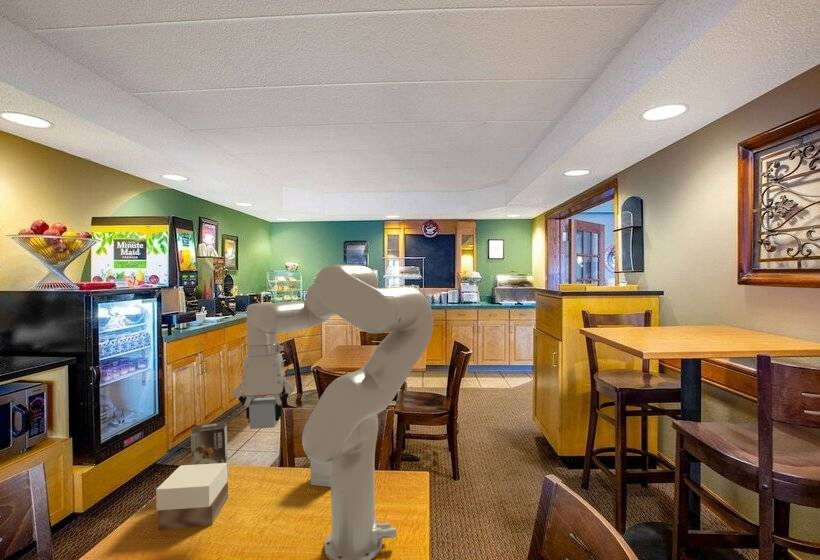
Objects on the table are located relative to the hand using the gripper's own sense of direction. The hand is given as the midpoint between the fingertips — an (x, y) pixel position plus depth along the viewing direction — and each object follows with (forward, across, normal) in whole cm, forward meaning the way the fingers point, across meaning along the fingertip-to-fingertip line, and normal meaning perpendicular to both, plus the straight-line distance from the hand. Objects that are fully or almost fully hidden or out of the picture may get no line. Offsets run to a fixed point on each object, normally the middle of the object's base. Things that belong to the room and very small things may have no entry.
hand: (264, 419), depth 102 cm
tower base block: (+23, +18, 0) cm, 29 cm away
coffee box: (+23, +20, -16) cm, 34 cm away
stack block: (+1, 0, 0) cm, 1 cm away
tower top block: (+18, +18, 0) cm, 25 cm away
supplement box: (+23, -14, -12) cm, 30 cm away
